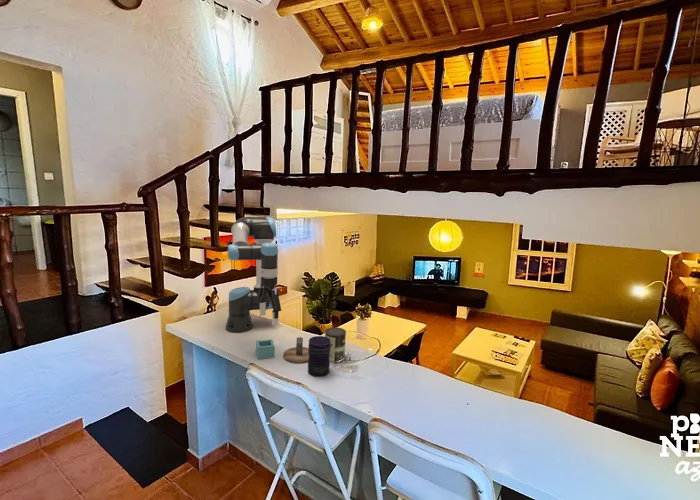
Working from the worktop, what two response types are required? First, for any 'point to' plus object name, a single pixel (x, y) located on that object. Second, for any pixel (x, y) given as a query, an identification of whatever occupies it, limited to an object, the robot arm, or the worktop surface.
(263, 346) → the collar
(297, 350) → the post stand
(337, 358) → the coffee can
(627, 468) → the worktop surface
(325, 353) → the storage jar
